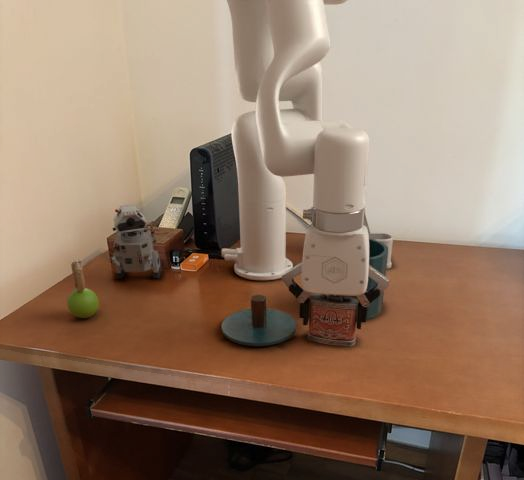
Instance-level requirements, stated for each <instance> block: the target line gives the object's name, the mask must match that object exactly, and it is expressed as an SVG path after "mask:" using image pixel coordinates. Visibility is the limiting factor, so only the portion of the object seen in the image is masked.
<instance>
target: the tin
mask: <svg viewBox="0 0 524 480" xmlns="http://www.w3.org/2000/svg"><path fill="white" fill-rule="evenodd" d="M387 258H388V247H387V246H386V245H385V244H384V243H382V242H380V241H377V240H374V239H370V238H369V265H370V266H372V267H373V268H374V269H376V270H377V271H379V272H380V273H382V274H383V275H384V276H386V277H387V269H388V268H387ZM376 284H377V282H376V281H374V280H373V279H371V278H370V277H368V284H367V289H366V291H367V292H368V291H370V290H371V289H372V288H373V287H375V286H376ZM384 293H385V290H384V291H383V292H382V293H381V294H380V296H379V297H378V298H376V299H375V300H374V301H373V302H371V303H370V304H369V306H368V307H367V314H366V321H367V320H371V319H373V318H375V317H377V316H378V315H379V314H381V312H382V310H383V304H384ZM344 296H345V295H344ZM351 297H352V298H356V299H358V298H357V296H351ZM357 314H358V307H357ZM356 322H357V315H356Z"/></svg>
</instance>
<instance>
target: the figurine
mask: <svg viewBox="0 0 524 480" xmlns="http://www.w3.org/2000/svg"><path fill="white" fill-rule="evenodd" d="M114 212H115V213H116V215H115V216H114V218H113V224H114V227H112V229H111V230H112V231H113V232H116V231H117V234H116V236H115V239H114V241H113V243H112V244H113V245H112V249H113V251H114V252H113V253H112V254H113V255H112V257H111V261H112V264H114V266H115V278H116V279H117V280H122V279H123V278H124V276H125V274H126V273H145V272H148V271H149V270H152V279H160V276H161V274H162V270H163V269H162V265H161V261H160V254H159V250H155V249H154V248H155V247H154V243H155V244H156V243H157V237H156V231H155V227H154V226H152V225H151V224H148V222H147V219H146V217H145V215H144V213H142V212H141V211H140V210H139V209H138V208H137V207H136V206H135V205H134V204H127V205H126V204H125V205H120V206H119V207H118V208H115V209H114ZM148 227H149V229H147V228H148Z"/></svg>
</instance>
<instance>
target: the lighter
mask: <svg viewBox="0 0 524 480" xmlns="http://www.w3.org/2000/svg"><path fill="white" fill-rule="evenodd" d="M309 302H310V306H309V320H308V331H307V339H308V340H309V341H312V342H316V343H319V344H326V345H331V346H339V347H342V346H343V347H352V346H354V345H355V344H356V338H357V337H356V327H357V321H356V315H357V307H358V304H359V300H358V299H356V298H352V297H351V296H344V295H327V294H313V293H311V294H310V295H309Z"/></svg>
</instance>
